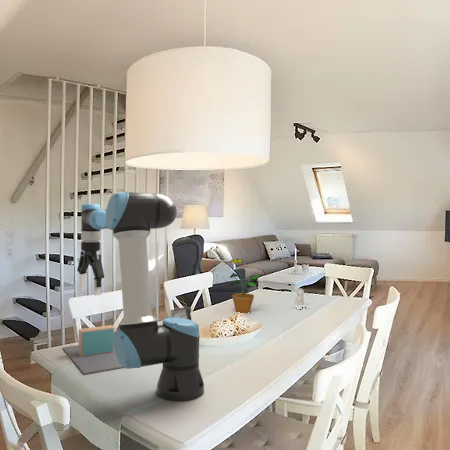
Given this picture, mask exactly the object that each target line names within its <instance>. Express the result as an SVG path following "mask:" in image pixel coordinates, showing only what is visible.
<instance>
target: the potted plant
mask: <svg viewBox="0 0 450 450" xmlns="http://www.w3.org/2000/svg"><path fill="white" fill-rule="evenodd" d="M244 261H245V260H244V259H242V258H235V259H231V260H229V263H230V264H234V265H235V264H236V267H237V273H238V274H236V273H235V272H232V274H231V275H230V276H229V279H232V278H234V279H235V280H236V281H234V282H232V283H230V286H231V287H234V286H236V285H238V284H239V283H241V286H242V292H239V293H238V292H237V293H233V294H232V295H231V296H232V301H233V305H234V308H235V312H240V313H248V312H249V313H251V309H252V305H253V301H254V298H255V295H254V294H252V293H251V294H250V293H247V292H245V291H244V287H245V286H246V285H247V289H250V288H254V287H256V286H257V282H258V279H259V278H260V274H257V275H256V274H255V275H250V276H249V278H248V280H247V281H246V282H245V284H243V279H242V276H241V274H240V270H239V266H238V264H241V263H244ZM236 277H239V278H240V280H238V279H237V278H236ZM250 279H251V281H250ZM244 292H245V293H244ZM249 313H248V314H249Z"/></svg>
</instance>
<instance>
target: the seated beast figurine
mask: <svg viewBox="0 0 450 450" xmlns="http://www.w3.org/2000/svg"><path fill="white" fill-rule="evenodd" d="M294 292H295V293H296V295H297V296H296V297H295V300H294V303H293V305H294V304H295V305H297V306H299V305H304V304H305V301H304V300H305V299H304V295H305V291H304V289H303V288H297V289H295V290H294Z"/></svg>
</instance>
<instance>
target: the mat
mask: <svg viewBox="0 0 450 450" xmlns="http://www.w3.org/2000/svg"><path fill="white" fill-rule="evenodd" d="M62 350H63V351H64V352H65V353H66V354H67V356H68V357H69V358H70V359H71V361H72V362H73V363H74V364H75V366H76V365H77V366H78V367H77V366H76V367H77V368H78V369H79V371H80V370H81V371H80V372H81V373H82V374H83V375H84V376H86V375H92V374H98V373H103V372H109V371H114V370H121V369H125V368H124V367H122V366H121V364H120V363H119V361H118V359H117V356H116V353H115V349H114V352H111V353H104V354H98V355H91V356H85V357H81V356H80V355H79V344H77V345H69V346H62Z"/></svg>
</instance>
